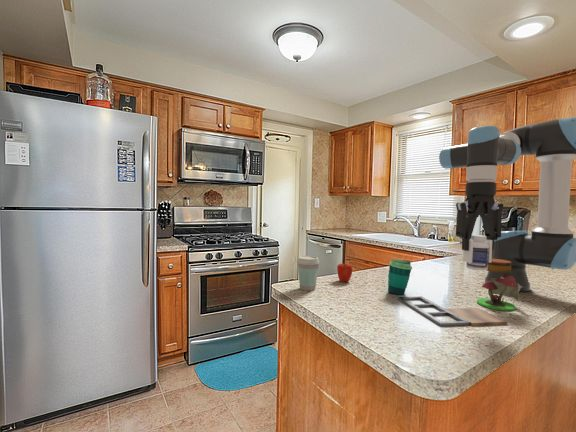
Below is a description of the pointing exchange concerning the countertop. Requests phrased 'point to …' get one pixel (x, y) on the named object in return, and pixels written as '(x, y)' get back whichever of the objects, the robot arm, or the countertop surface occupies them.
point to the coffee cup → (308, 272)
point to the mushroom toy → (500, 287)
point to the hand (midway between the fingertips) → (477, 261)
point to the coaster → (477, 316)
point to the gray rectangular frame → (431, 314)
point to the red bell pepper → (344, 272)
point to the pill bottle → (479, 253)
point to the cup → (398, 276)
